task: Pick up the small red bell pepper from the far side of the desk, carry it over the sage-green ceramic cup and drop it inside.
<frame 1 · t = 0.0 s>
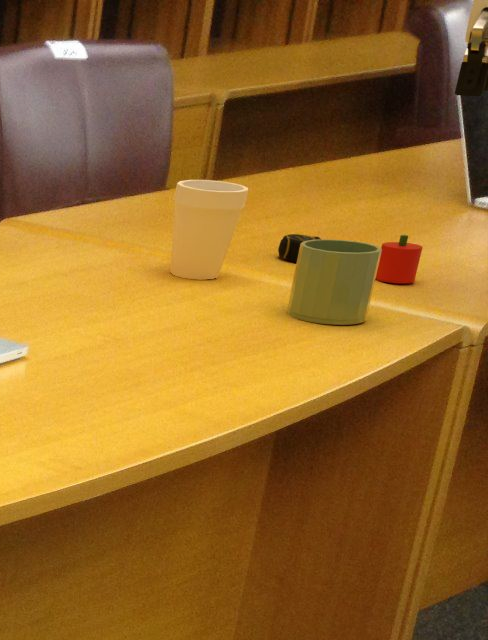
hand: (476, 92, 202), 26 cm above the table, tool pointing down, fingers open, 9 cm apart
foam cup: (192, 280, 220), on the table
tape measure: (304, 264, 231), on the table
ceramic cup: (325, 316, 199), on the table
pepper: (394, 281, 219), on the table
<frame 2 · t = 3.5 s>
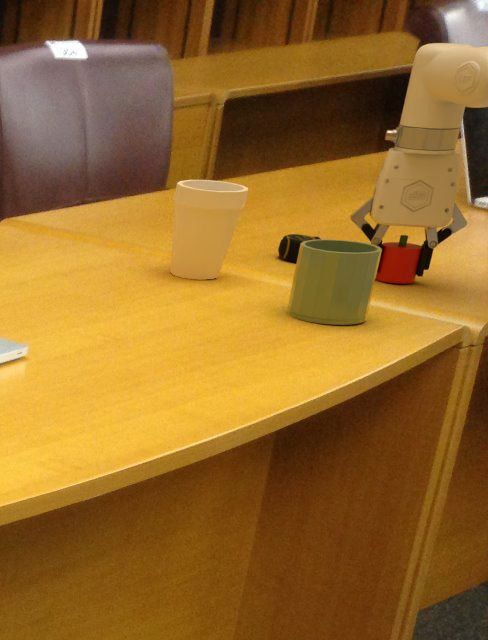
hand: (396, 272, 218), 1 cm above the table, tool pointing down, fingers closed on pepper, 5 cm apart
pepper: (393, 281, 219), on the table, touching gripper
everything else where it was.
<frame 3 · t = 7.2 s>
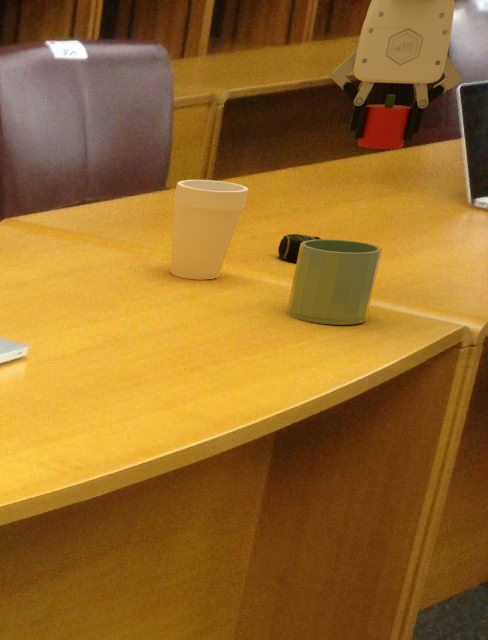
hand: (381, 137, 195), 21 cm above the table, tool pointing down, fingers closed on pepper, 5 cm apart
pepper: (379, 148, 196), point 20 cm above the table, touching gripper
everything else where it was.
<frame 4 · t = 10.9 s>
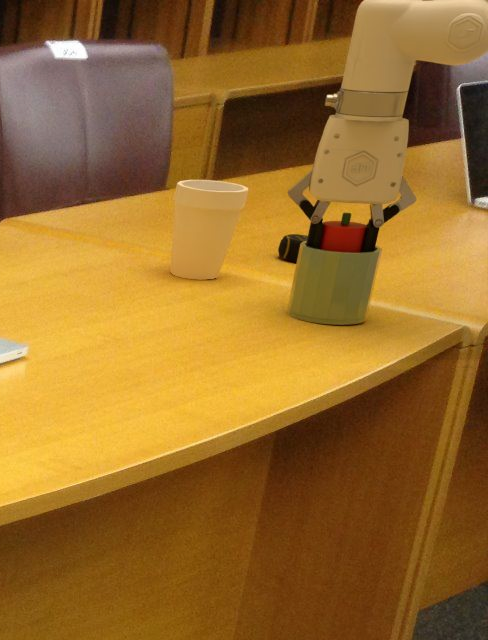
hand: (338, 254, 196), 8 cm above the table, tool pointing down, fingers closed on pepper, 5 cm apart
pepper: (336, 264, 196), point 7 cm above the table, touching gripper
everything else where it was.
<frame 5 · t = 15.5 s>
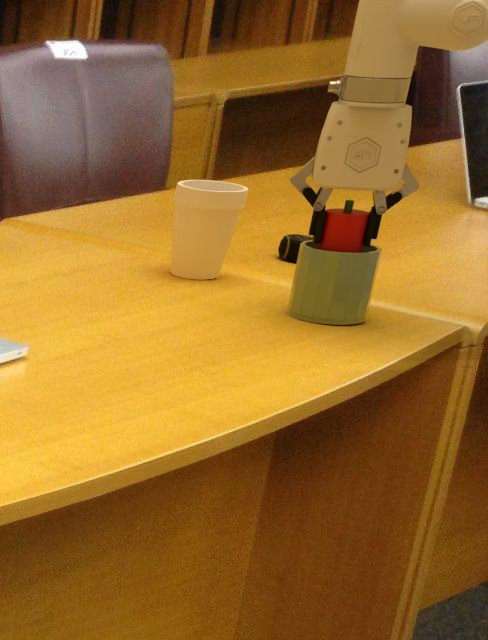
hand: (341, 241, 195), 10 cm above the table, tool pointing down, fingers closed on pepper, 5 cm apart
pepper: (338, 251, 196), point 8 cm above the table, touching gripper
everything else where it was.
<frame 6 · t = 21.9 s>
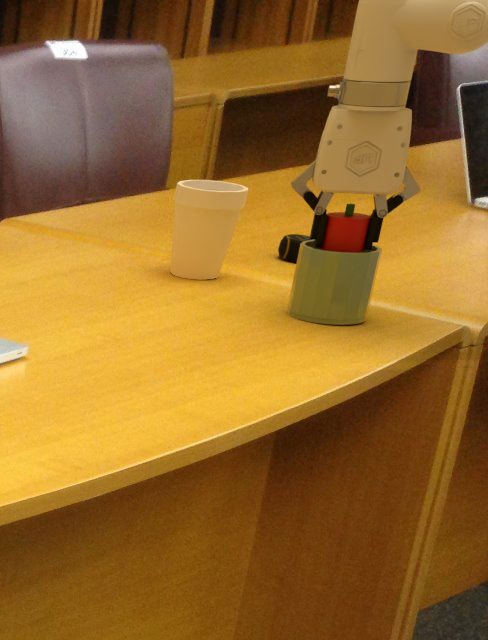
hand: (342, 245, 195), 9 cm above the table, tool pointing down, fingers closed on pepper, 5 cm apart
pepper: (340, 255, 196), point 8 cm above the table, touching gripper
everything else where it was.
when the fingers open (11 cm above the table, at t = 27.7 s): pepper drops 9 cm, resting on ceramic cup.
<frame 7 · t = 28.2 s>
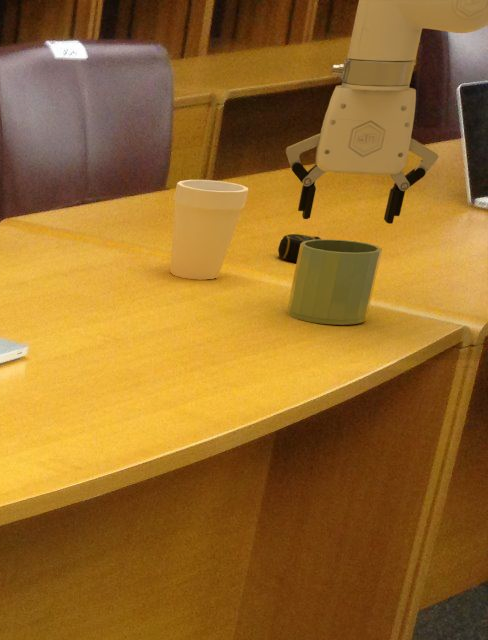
hand: (346, 219, 194), 12 cm above the table, tool pointing down, fingers open, 9 cm apart
pepper: (327, 311, 199), point 1 cm above the table, touching ceramic cup
everything else where it was.
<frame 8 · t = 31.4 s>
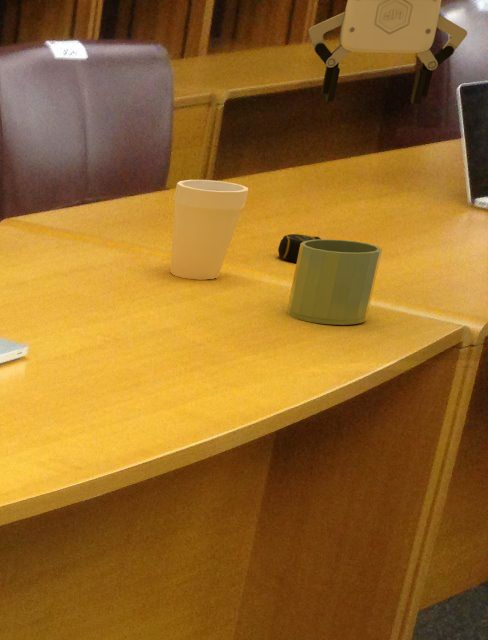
hand: (371, 102, 188), 26 cm above the table, tool pointing down, fingers open, 9 cm apart
nothing on the table moved.
at the end: pepper inside the target area in the ceramic cup (0.0 cm from its centre), point 0.6 cm above the ceramic cup's base; the gripper is holding nothing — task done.
